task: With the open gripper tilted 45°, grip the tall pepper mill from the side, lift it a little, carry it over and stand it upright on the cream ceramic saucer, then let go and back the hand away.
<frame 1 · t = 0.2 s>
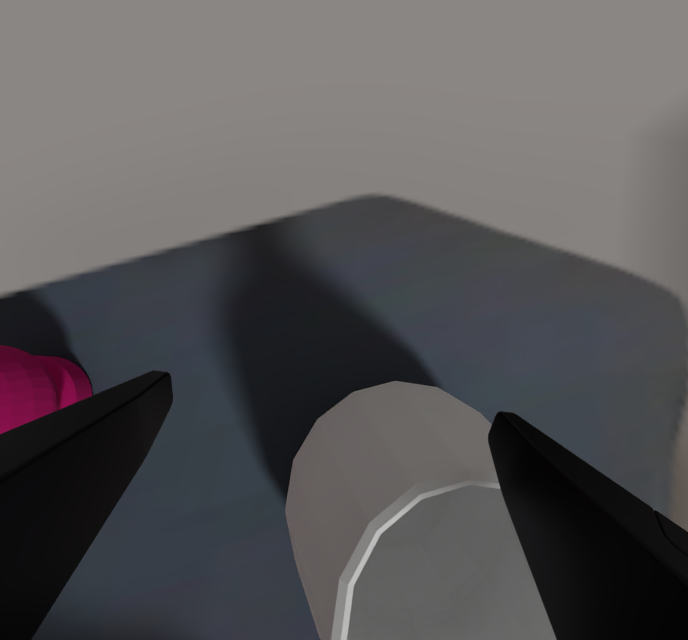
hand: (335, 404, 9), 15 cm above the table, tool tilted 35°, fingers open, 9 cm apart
cup: (388, 476, 23), on the table
pepper mill: (48, 402, 23), on the table
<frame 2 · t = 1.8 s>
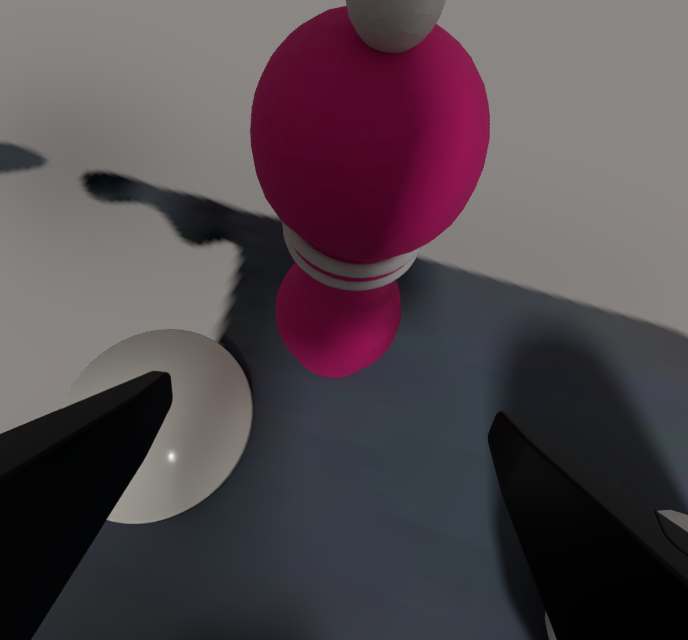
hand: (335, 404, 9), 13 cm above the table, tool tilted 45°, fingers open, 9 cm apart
cup: (620, 629, 19), on the table
pepper mill: (333, 335, 24), on the table
saucer: (163, 418, 21), on the table
when the fingers open (12 cm above the table, at t = 6.9 s): pepper mill stays where it is, resting on saucer.
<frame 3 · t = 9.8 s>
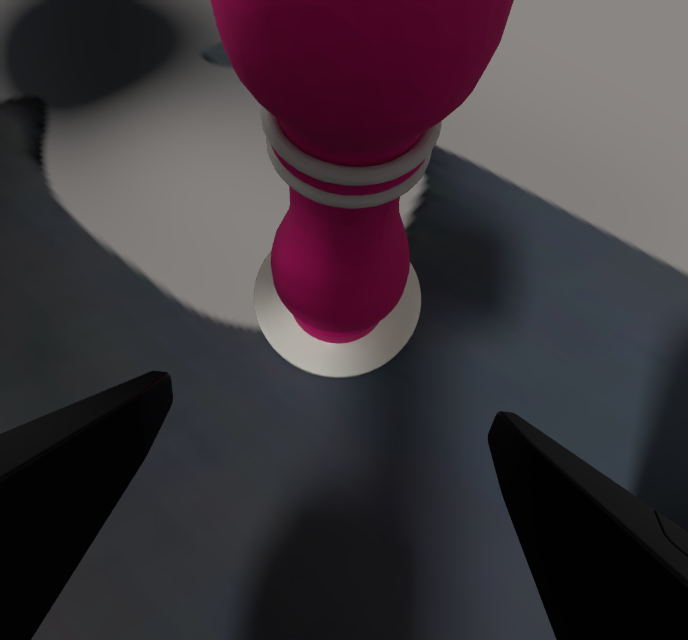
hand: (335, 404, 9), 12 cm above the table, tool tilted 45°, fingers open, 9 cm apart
pepper mill: (337, 299, 22), point 1 cm above the table, touching saucer
saucer: (338, 298, 23), on the table
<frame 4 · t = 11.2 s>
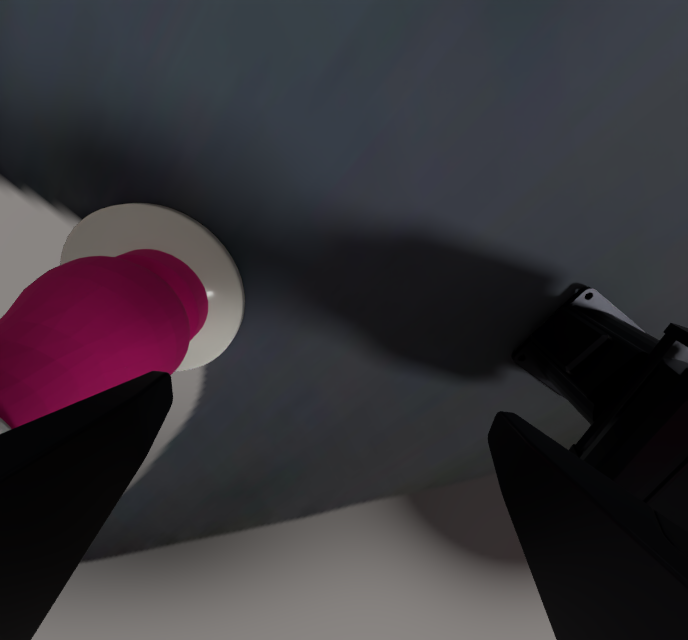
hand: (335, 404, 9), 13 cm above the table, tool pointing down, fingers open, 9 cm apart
pepper mill: (160, 296, 21), point 1 cm above the table, touching saucer
saucer: (160, 291, 22), on the table
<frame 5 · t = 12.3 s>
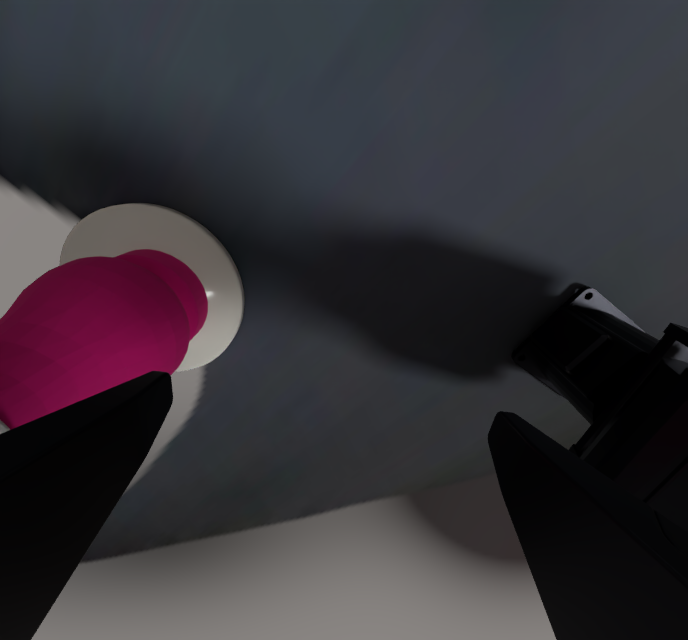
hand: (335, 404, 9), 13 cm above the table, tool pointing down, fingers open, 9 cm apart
pepper mill: (160, 297, 21), point 1 cm above the table, touching saucer
saucer: (160, 291, 22), on the table
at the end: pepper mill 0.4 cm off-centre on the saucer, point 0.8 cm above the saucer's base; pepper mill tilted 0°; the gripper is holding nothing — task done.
